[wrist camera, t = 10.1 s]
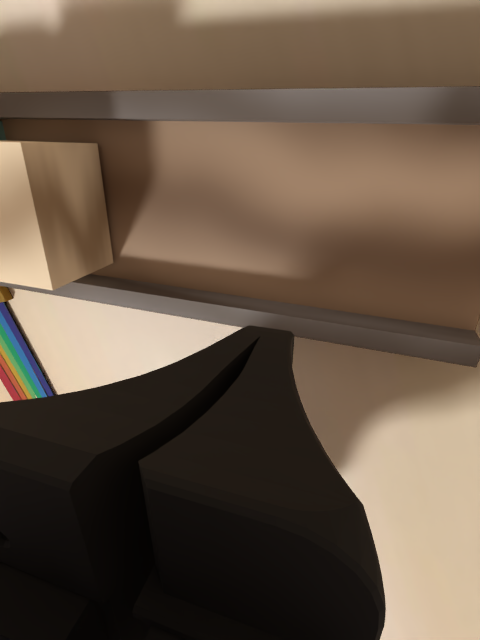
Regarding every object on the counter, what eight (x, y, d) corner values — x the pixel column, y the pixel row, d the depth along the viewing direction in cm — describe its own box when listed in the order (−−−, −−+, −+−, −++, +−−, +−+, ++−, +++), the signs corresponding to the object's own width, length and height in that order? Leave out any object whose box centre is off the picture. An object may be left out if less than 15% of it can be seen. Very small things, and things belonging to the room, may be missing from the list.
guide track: (460, 335, 18) (486, 387, 14) (-9, 263, 26) (-76, 284, 22) (541, 96, 13) (611, 77, 9) (-56, 100, 21) (-151, 90, 17)
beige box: (113, 262, 20) (52, 290, 16) (28, 251, 22) (-46, 274, 18) (97, 143, 17) (20, 142, 14) (1, 140, 19) (-92, 138, 15)
